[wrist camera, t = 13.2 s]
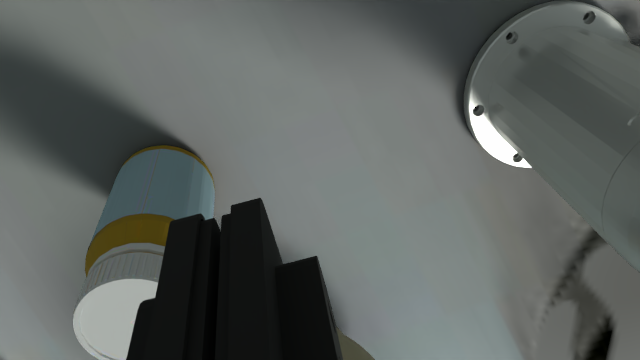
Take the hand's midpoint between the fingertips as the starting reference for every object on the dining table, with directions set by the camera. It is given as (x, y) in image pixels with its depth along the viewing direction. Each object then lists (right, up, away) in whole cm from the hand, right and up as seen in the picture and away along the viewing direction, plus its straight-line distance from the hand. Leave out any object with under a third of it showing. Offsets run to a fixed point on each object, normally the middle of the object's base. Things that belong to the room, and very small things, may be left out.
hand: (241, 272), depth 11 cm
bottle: (-10, +2, +31) cm, 33 cm away
